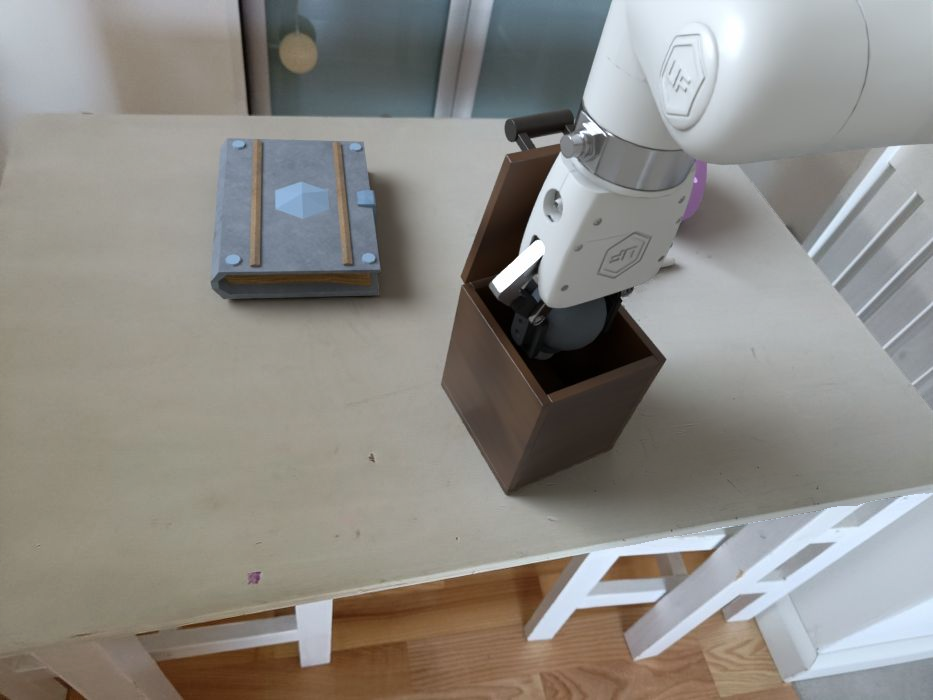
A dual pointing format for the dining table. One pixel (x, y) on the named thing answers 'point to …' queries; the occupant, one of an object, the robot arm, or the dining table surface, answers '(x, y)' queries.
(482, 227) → the lid
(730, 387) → the dining table surface
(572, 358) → the chest
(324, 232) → the book
